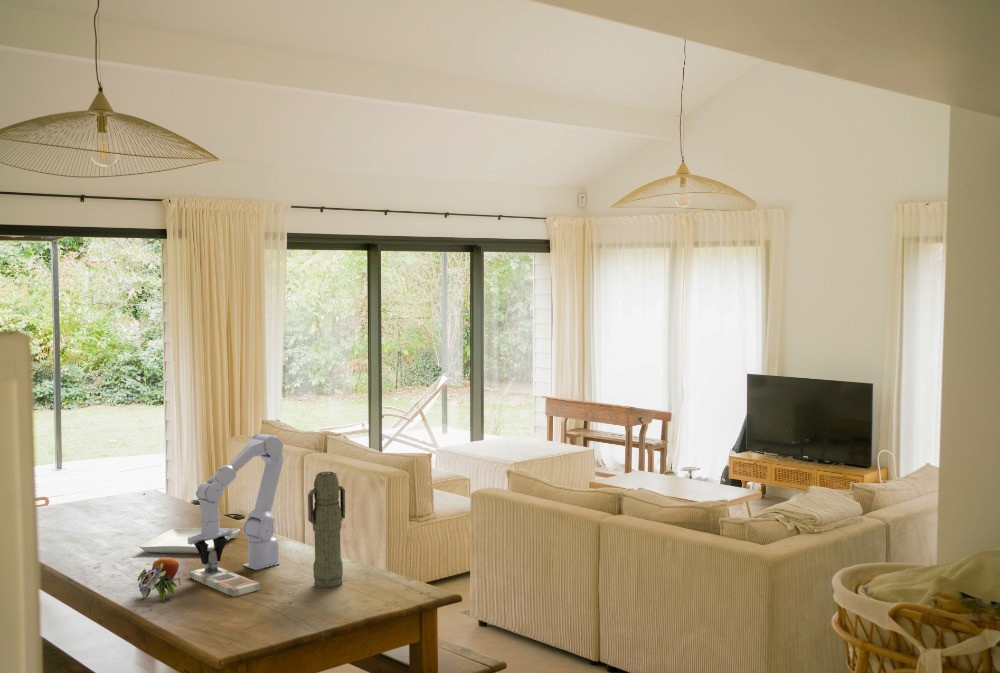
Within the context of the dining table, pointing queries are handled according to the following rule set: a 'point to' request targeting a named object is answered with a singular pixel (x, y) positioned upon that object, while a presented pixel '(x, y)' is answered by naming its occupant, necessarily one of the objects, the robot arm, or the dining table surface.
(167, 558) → the fruit
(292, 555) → the dining table surface
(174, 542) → the square plate
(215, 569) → the metal peg
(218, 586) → the hole rail
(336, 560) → the thermos
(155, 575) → the passion flower
